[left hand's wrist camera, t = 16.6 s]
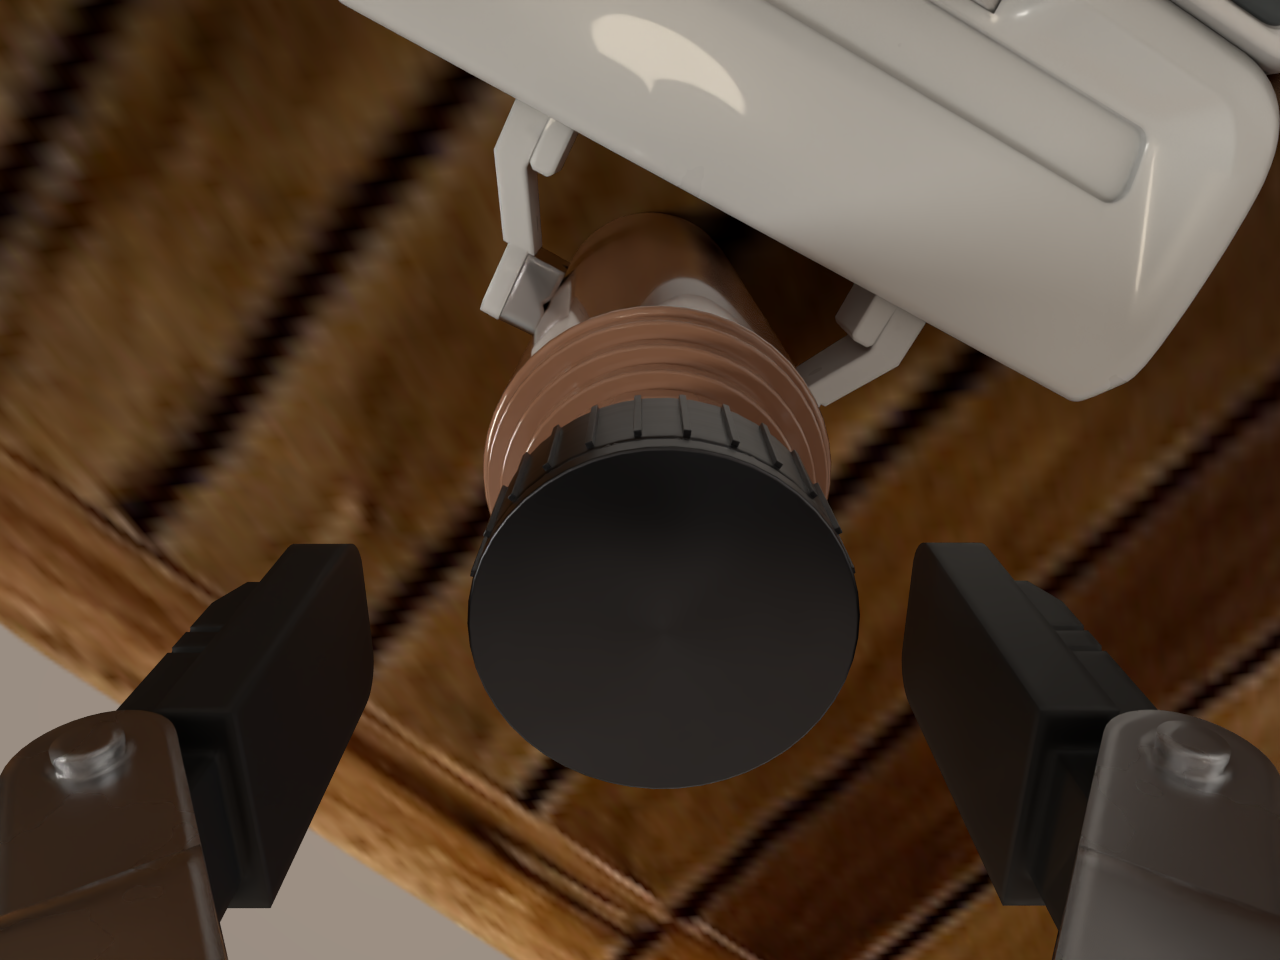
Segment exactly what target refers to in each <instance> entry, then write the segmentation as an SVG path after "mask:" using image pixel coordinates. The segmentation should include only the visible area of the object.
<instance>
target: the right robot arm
mask: <svg viewBox="0 0 1280 960" xmlns="http://www.w3.org/2000/svg"><path fill="white" fill-rule="evenodd" d="M339 1H340V2H341V3H342V4H344V5H346V6H348V7H349V8H351V9H353V10H355V11H356V12H358V13H360V14H362V15H364V16H366V17H367V18H369V19H371V20H373V21H375V22H377V23H378V24H380V25H382V26H384V27H386V28H388V29H389V30H391V31H393V32H395V33H397V34H399V35H400V36H402V37H404V38H406V39H408V40H410V41H411V42H413V43H415V44H417V45H419V46H421V47H422V48H424V49H426V50H428V51H430V52H432V53H433V54H435V55H437V56H439V57H441V58H443V59H444V60H446V61H448V62H450V63H452V64H454V65H455V66H457V67H459V68H461V69H463V70H465V71H466V72H468V73H470V74H472V75H474V76H476V77H477V78H479V79H481V80H483V81H485V82H487V83H488V84H490V85H492V86H494V87H496V88H498V89H499V90H501V91H503V92H505V93H507V94H509V95H510V96H512V97H514V98H516V99H515V102H514V104H513V106H512V109H511V111H510V113H509V116H508V118H507V120H506V123H505V125H504V127H503V130H502V132H501V134H500V137H499V139H498V141H497V144H496V146H495V148H494V155H495V165H496V174H497V184H498V193H499V203H500V212H501V222H502V231H503V240H504V241H505V242H507V243H508V245H507V247H506V250H505V252H504V254H503V256H502V259H501V261H500V263H499V265H498V267H497V270H496V272H495V274H494V276H493V279H492V281H491V283H490V285H489V288H488V290H487V292H486V294H485V296H484V299H483V301H482V304H481V308H480V310H482V311H483V312H485V313H487V314H489V315H491V316H492V317H494V318H496V319H499V320H501V321H503V322H506V323H508V324H510V325H512V326H514V327H516V328H518V329H520V330H522V331H524V332H526V333H528V334H531V335H533V334H534V332H535V330H536V328H537V326H538V324H539V322H540V320H541V318H542V317H543V315H544V313H545V311H546V309H547V307H548V305H549V303H550V301H551V299H552V298H553V296H554V295H555V293H556V292H557V290H558V288H559V286H560V284H561V282H562V280H563V278H564V276H565V274H566V272H567V270H568V267H569V265H570V262H568V261H566V260H564V259H562V258H561V257H559V256H557V255H555V254H553V253H551V252H550V251H548V250H546V249H544V248H542V236H541V222H540V207H539V193H538V179H537V172H539V173H541V174H543V175H545V176H550V175H553V174H555V173H557V172H558V171H560V170H561V169H562V167H563V165H564V163H565V161H566V159H567V156H568V154H569V152H570V150H571V148H572V146H573V144H574V142H575V139H576V137H577V135H578V133H580V134H582V135H584V136H586V137H587V138H589V139H591V140H593V141H595V142H597V143H598V144H600V145H602V146H604V147H606V148H608V149H609V150H611V151H613V152H615V153H617V154H619V155H620V156H622V157H624V158H626V159H628V160H630V161H631V162H633V163H635V164H637V165H639V166H641V167H642V168H644V169H646V170H648V171H650V172H652V173H653V174H655V175H657V176H659V177H661V178H663V179H664V180H666V181H668V182H670V183H672V184H674V185H675V186H677V187H679V188H681V189H683V190H685V191H686V192H688V193H690V194H692V195H694V196H696V197H697V198H699V199H701V200H703V201H705V202H707V203H708V204H710V205H712V206H714V207H716V208H718V209H719V210H721V211H723V212H725V213H727V214H729V215H730V216H732V217H734V218H736V219H738V220H740V221H741V222H743V223H745V224H747V225H749V226H751V227H752V228H754V229H756V230H758V231H760V232H762V233H763V234H765V235H767V236H769V237H771V238H773V239H774V240H776V241H778V242H780V243H782V244H784V245H785V246H787V247H789V248H791V249H793V250H795V251H796V252H798V253H800V254H802V255H804V256H806V257H807V258H809V259H811V260H813V261H815V262H817V263H818V264H820V265H822V266H824V267H826V268H828V269H829V270H831V271H833V272H835V273H837V274H839V275H840V276H842V277H844V278H846V279H848V280H850V281H851V282H853V283H854V285H853V286H852V288H851V290H850V292H849V293H848V295H847V297H846V299H845V300H844V302H843V304H842V305H841V307H840V309H839V311H838V312H837V314H836V316H835V319H836V323H837V324H838V325H839V326H840V327H841V328H842V329H843V330H844V331H845V332H846V333H847V334H848V335H846V336H845V337H843V338H842V339H840V340H838V341H837V342H835V343H834V344H832V345H831V346H829V347H827V348H826V349H824V350H823V351H821V352H819V353H818V354H816V355H815V356H813V357H812V358H810V359H808V360H807V361H805V362H804V363H802V364H800V365H799V366H797V367H796V368H797V369H798V371H799V373H800V374H801V376H802V377H803V379H804V381H805V382H806V384H807V386H808V387H809V389H810V391H811V393H812V394H813V396H814V398H815V400H816V402H817V404H818V407H819V406H820V405H824V406H827V405H829V404H830V403H832V402H834V401H836V400H838V399H839V398H841V397H843V396H845V395H847V394H848V393H850V392H852V391H854V390H856V389H857V388H859V387H861V386H863V385H865V384H866V383H868V382H870V381H872V380H873V379H875V378H877V377H879V376H881V375H882V374H884V373H886V372H888V371H890V370H891V369H893V368H895V367H897V366H898V365H899V364H900V362H901V361H902V359H903V357H904V356H905V354H906V353H907V351H908V350H909V348H910V347H911V345H912V343H913V342H914V340H915V339H916V337H917V336H918V334H919V333H920V331H921V329H922V328H923V326H924V325H925V323H926V322H927V323H929V324H930V325H932V326H934V327H936V328H938V329H940V330H941V331H943V332H945V333H947V334H949V335H951V336H952V337H954V338H956V339H958V340H960V341H962V342H963V343H965V344H967V345H969V346H971V347H973V348H974V349H976V350H978V351H980V352H982V353H984V354H985V355H987V356H989V357H991V358H993V359H995V360H996V361H998V362H1000V363H1002V364H1004V365H1006V366H1007V367H1009V368H1011V369H1013V370H1015V371H1017V372H1018V373H1020V374H1022V375H1024V376H1026V377H1028V378H1029V379H1031V380H1033V381H1035V382H1037V383H1039V384H1040V385H1042V386H1044V387H1046V388H1048V389H1050V390H1051V391H1053V392H1055V393H1057V394H1059V395H1061V396H1063V397H1064V398H1066V399H1068V400H1071V401H1082V400H1085V399H1088V398H1091V397H1094V396H1096V395H1099V394H1101V393H1103V392H1106V391H1108V390H1110V389H1113V388H1115V387H1117V386H1119V385H1122V384H1124V383H1126V382H1128V381H1129V380H1130V379H1132V378H1133V377H1135V376H1136V375H1137V374H1138V372H1139V371H1140V370H1141V369H1142V368H1143V367H1144V366H1145V365H1146V364H1147V363H1148V361H1149V360H1150V359H1151V358H1152V356H1153V355H1154V354H1155V353H1156V351H1157V350H1158V349H1159V347H1160V346H1161V345H1162V344H1163V342H1164V341H1165V339H1166V338H1167V337H1168V335H1169V334H1170V332H1171V331H1172V330H1173V328H1174V327H1175V325H1176V324H1177V323H1178V321H1179V320H1180V318H1181V317H1182V316H1183V314H1184V313H1185V311H1186V310H1187V308H1188V307H1189V305H1190V304H1191V302H1192V301H1193V300H1194V298H1195V297H1196V295H1197V294H1198V292H1199V291H1200V289H1201V288H1202V286H1203V285H1204V283H1205V282H1206V280H1207V279H1208V277H1209V275H1210V274H1211V272H1212V271H1213V269H1214V268H1215V266H1216V264H1217V263H1218V261H1219V260H1220V258H1221V257H1222V255H1223V254H1224V252H1225V250H1226V249H1227V247H1228V246H1229V244H1230V242H1231V241H1232V239H1233V237H1234V236H1235V234H1236V232H1237V231H1238V229H1239V227H1240V226H1241V224H1242V222H1243V221H1244V219H1245V217H1246V215H1247V213H1248V212H1249V210H1250V208H1251V206H1252V205H1253V203H1254V201H1255V199H1256V198H1257V196H1258V194H1259V192H1260V190H1261V188H1262V186H1263V184H1264V182H1265V179H1266V177H1267V174H1268V172H1269V169H1270V167H1271V164H1272V161H1273V158H1274V155H1275V151H1276V147H1277V142H1278V136H1279V125H1280V116H1279V106H1278V102H1277V98H1276V94H1275V92H1274V89H1273V87H1272V85H1271V82H1270V81H1269V79H1268V78H1267V76H1266V75H1269V74H1275V73H1280V0H339Z"/></svg>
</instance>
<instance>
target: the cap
mask: <svg viewBox="0 0 1280 960" xmlns="http://www.w3.org/2000/svg"><path fill="white" fill-rule="evenodd" d="M840 533H842V530H841V528H840V526H839V524H838V522H837V520H836V518H835V516H834V514H833V512H832V510H831V508H830V506H829V504H828V502H827V500H826V498H825V496H824V494H823V492H822V490H821V487H820V485H819V483H818V482H817V483H815V484H813V483H812V481H811V479H810V477H809V475H808V473H807V471H806V469H805V467H804V465H803V463H802V460H801V458H800V456H799V454H798V453H797V452H796V450H793V451H792V452H790V451H789V450H788V449H787V448H786V447H785V446H784V445H783V444H782V443H781V442H780V441H779V440H777V439H776V438H775V437H774V436H773V435H771V434H770V431H769V429H768V427H767V425H765V424H764V423H761V424H760V426H759V425H757V424H756V423H754V422H752V421H750V420H748V419H746V418H744V417H742V416H741V415H739V414H737V413H734V412H731V411H730V408H729V406H728V405H726V404H722V406H721V407H718V406H715V405H711V404H707V403H702V402H698V401H694V400H687V399H686V395H679V399H676V398H645V399H642V398H641V395H635V396H634V400H631V401H625V402H620V403H616V404H612V405H609V406H606V407H602V408H599V407H598V405H595V406H593V407H591V412H590V413H587V414H585V415H583V416H580V417H578V418H577V419H575V420H573V421H571V422H570V423H568V424H566V425H565V426H563V427H560V426H559V425H556V426H555V427H554V428H553V430H552V434H551V436H549V437H548V438H547V439H546V440H544V441H543V442H542V443H541V444H540V445H539V446H538V447H537V448H536V449H535V450H534V451H533V452H532V453H531V454H529V453H527V452H525V454H524V455H523V456H522V459H521V461H520V464H519V467H518V470H517V472H516V473H515V475H514V476H513V478H512V480H511V482H510V484H509V485H508V487H507V486H504V485H503V486H502V488H501V490H500V493H499V495H498V498H497V500H496V503H495V506H494V508H493V511H492V513H491V516H490V519H489V521H488V524H487V526H486V529H485V532H484V534H483V536H484V539H483V541H482V544H481V546H480V549H479V552H478V554H477V557H476V560H475V562H474V565H473V567H472V570H471V575H470V576H472V577H473V580H472V585H471V590H470V595H469V600H468V622H467V624H468V633H469V642H470V648H471V652H472V656H473V659H474V663H475V667H476V669H477V672H478V674H479V677H480V679H481V681H482V684H483V686H484V688H485V690H486V692H487V693H488V695H489V697H490V698H491V700H492V702H493V703H494V705H495V707H496V708H497V709H498V711H499V712H500V713H501V714H502V716H503V717H504V718H505V719H506V721H507V722H508V723H509V724H510V726H511V727H513V728H514V729H515V730H516V731H517V732H518V733H519V734H520V735H521V736H522V737H523V738H524V739H525V740H526V741H527V742H529V743H530V744H531V745H533V746H534V747H535V748H537V749H538V750H539V751H540V752H542V753H543V754H545V755H546V756H548V757H550V758H551V759H553V760H555V761H557V762H558V763H560V764H562V765H563V766H565V767H568V768H570V769H572V770H575V771H577V772H579V773H581V774H584V775H586V776H589V777H593V778H596V779H599V780H602V781H606V782H609V783H614V784H620V785H625V786H630V787H640V788H651V789H668V788H685V787H693V786H701V785H705V784H710V783H714V782H718V781H722V780H726V779H729V778H732V777H734V776H737V775H740V774H743V773H746V772H748V771H750V770H752V769H754V768H756V767H758V766H760V765H763V764H765V763H767V762H769V761H770V760H772V759H773V758H775V757H776V756H778V755H780V754H781V753H783V752H784V751H786V750H787V749H789V748H790V747H791V746H792V745H794V744H795V743H796V742H797V741H799V740H800V739H801V738H802V737H803V736H805V735H806V734H807V733H808V732H809V731H810V730H811V728H812V727H813V726H814V725H815V724H816V723H817V722H818V721H819V720H820V719H821V718H822V717H823V715H824V714H825V712H826V711H827V710H828V708H829V707H830V706H831V704H832V703H833V702H834V700H835V698H836V697H837V695H838V693H839V691H840V689H841V687H842V686H843V684H844V682H845V680H846V677H847V675H848V672H849V669H850V667H851V664H852V661H853V658H854V654H855V650H856V645H857V641H858V633H859V620H860V611H859V598H858V590H857V586H856V582H855V577H854V573H855V569H854V566H853V564H852V561H851V559H850V557H849V555H848V553H847V551H846V549H845V547H844V545H843V543H842V541H841V538H840V536H839V534H840Z"/></svg>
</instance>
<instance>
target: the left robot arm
mask: <svg viewBox="0 0 1280 960" xmlns="http://www.w3.org/2000/svg"><path fill="white" fill-rule="evenodd" d="M373 665H374V660H373V647H372V639H371V631H370V623H369V615H368V607H367V599H366V591H365V583H364V576H363V568H362V561H361V557H360V554H359V551H358V549H357V547H356V546H355V545H353V544H292V545H290V546H289V547H288V548H287V550H286V551H285V552H284V553H283V554H282V556H281V557H280V558H279V559H278V560H277V562H276V563H275V564H274V565H273V567H272V568H271V569H270V570H269V571H268V573H267V574H266V575H265V576H264V577H263V579H262V580H261V581H260V582H247V583H245V584H243V585H242V586H240V587H238V588H237V589H235V590H233V591H231V592H230V593H228V594H226V595H225V596H223V597H221V598H220V599H218V600H216V601H214V602H213V603H212V604H211V605H210V606H209V607H208V608H207V609H206V610H205V611H204V613H203V614H202V615H201V616H200V617H199V618H198V619H197V620H196V622H195V623H194V624H193V625H192V626H191V627H190V632H186V633H185V634H184V635H183V636H182V637H181V638H180V639H179V641H178V642H177V643H176V644H175V645H174V646H173V647H172V653H167V654H166V655H165V656H164V657H163V659H162V660H161V661H160V662H159V663H158V664H157V665H156V666H155V668H154V669H153V670H152V671H151V672H150V673H149V674H148V675H147V677H146V678H145V679H144V680H143V681H142V682H141V683H140V684H139V686H138V687H137V688H136V689H135V690H134V691H133V692H132V693H131V695H130V696H129V697H128V698H127V699H126V700H125V701H124V702H123V703H122V705H121V706H120V707H119V708H118V709H117V710H116V711H111V712H104V713H100V714H95V715H91V716H87V717H84V718H81V719H78V720H74V721H72V722H69V723H67V724H64V725H62V726H59V727H57V728H55V729H53V730H51V731H49V732H47V733H45V734H43V735H42V736H40V737H38V738H37V739H35V740H34V741H32V742H31V743H29V744H28V745H27V746H25V747H24V748H22V749H21V750H20V751H19V752H18V753H17V754H16V755H15V756H14V757H13V758H12V759H11V760H10V761H9V762H8V764H7V765H6V766H5V768H4V770H3V771H2V773H1V775H0V960H228V957H227V952H226V948H225V943H224V939H223V935H222V930H221V926H220V921H221V919H222V917H223V915H224V913H225V911H226V910H227V908H271V906H272V904H273V902H274V900H275V897H276V895H277V893H278V891H279V889H280V887H281V885H282V882H283V880H284V878H285V876H286V874H287V872H288V870H289V868H290V865H291V863H292V861H293V859H294V857H295V855H296V853H297V851H298V848H299V846H300V844H301V842H302V840H303V838H304V836H305V834H306V831H307V829H308V827H309V825H310V823H311V821H312V819H313V817H314V814H315V812H316V810H317V808H318V806H319V804H320V802H321V800H322V797H323V795H324V793H325V791H326V789H327V787H328V785H329V783H330V780H331V778H332V776H333V774H334V772H335V770H336V768H337V766H338V763H339V761H340V759H341V757H342V755H343V753H344V751H345V749H346V746H347V744H348V742H349V740H350V738H351V736H352V734H353V732H354V729H355V727H356V725H357V723H358V721H359V719H360V717H361V715H362V712H363V710H364V708H365V706H366V704H367V701H368V699H369V695H370V691H371V686H372V679H373ZM902 675H903V683H904V688H905V693H906V696H907V699H908V702H909V704H910V706H911V708H912V710H913V713H914V715H915V717H916V719H917V721H918V723H919V726H920V728H921V730H922V732H923V734H924V736H925V739H926V741H927V743H928V745H929V747H930V749H931V751H932V754H933V756H934V758H935V760H936V762H937V764H938V767H939V769H940V771H941V773H942V775H943V777H944V780H945V782H946V784H947V786H948V788H949V790H950V792H951V795H952V797H953V799H954V801H955V803H956V805H957V808H958V810H959V812H960V814H961V816H962V818H963V821H964V823H965V825H966V827H967V829H968V831H969V833H970V836H971V838H972V840H973V842H974V844H975V846H976V849H977V851H978V853H979V855H980V857H981V859H982V862H983V864H984V866H985V868H986V870H987V872H988V874H989V877H990V879H991V881H992V883H993V885H994V887H995V890H996V892H997V894H998V896H999V898H1000V900H1001V903H1002V905H1046V907H1047V909H1048V911H1049V913H1050V915H1051V917H1052V919H1053V921H1054V923H1055V925H1056V927H1057V929H1058V935H1057V939H1056V943H1055V948H1054V952H1053V957H1052V960H1280V775H1279V773H1278V771H1277V770H1276V768H1275V766H1274V765H1273V764H1272V762H1271V761H1270V760H1269V759H1268V758H1267V757H1266V756H1265V755H1264V754H1263V753H1262V752H1261V751H1260V750H1259V749H1258V748H1256V747H1255V746H1253V745H1252V744H1251V743H1249V742H1248V741H1247V740H1245V739H1243V738H1242V737H1240V736H1238V735H1237V734H1235V733H1233V732H1231V731H1229V730H1227V729H1225V728H1223V727H1221V726H1218V725H1216V724H1213V723H1211V722H1208V721H1206V720H1202V719H1199V718H1196V717H1193V716H1189V715H1185V714H1181V713H1176V712H1169V711H1162V710H1157V709H1156V707H1155V706H1154V705H1153V704H1152V703H1151V702H1150V701H1149V699H1148V698H1147V697H1146V696H1145V695H1144V694H1143V693H1142V692H1141V690H1140V689H1139V688H1138V687H1137V686H1136V685H1135V684H1134V682H1133V681H1132V680H1131V679H1130V678H1129V677H1128V676H1127V675H1126V673H1125V672H1124V671H1123V670H1122V669H1121V668H1120V667H1119V665H1118V664H1117V663H1116V662H1115V661H1114V660H1113V659H1112V657H1111V656H1110V655H1109V654H1108V653H1107V652H1106V651H1102V650H1101V645H1100V644H1099V643H1098V642H1097V640H1096V639H1095V638H1094V637H1093V636H1092V635H1091V634H1090V633H1089V631H1084V629H1083V625H1082V623H1081V622H1080V621H1079V620H1078V619H1077V618H1076V617H1075V615H1074V614H1073V613H1072V612H1071V611H1070V610H1069V609H1068V608H1067V606H1066V605H1065V604H1064V603H1063V602H1062V601H1060V600H1059V599H1057V598H1055V597H1054V596H1052V595H1050V594H1049V593H1047V592H1045V591H1043V590H1042V589H1040V588H1038V587H1037V586H1035V585H1033V584H1032V583H1030V582H1028V581H1014V579H1013V578H1012V577H1011V576H1010V575H1009V573H1008V572H1007V571H1006V570H1005V568H1004V567H1003V566H1002V565H1001V564H1000V562H999V561H998V560H997V559H996V557H995V556H994V555H993V554H992V553H991V551H990V550H989V549H988V548H987V546H985V545H984V544H983V543H921V544H920V545H919V546H918V548H917V550H916V553H915V556H914V561H913V568H912V576H911V584H910V592H909V600H908V609H907V617H906V625H905V633H904V641H903V649H902Z"/></svg>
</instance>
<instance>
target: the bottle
mask: <svg viewBox="0 0 1280 960" xmlns="http://www.w3.org/2000/svg"><path fill="white" fill-rule="evenodd" d="M635 395H641V398H642V399H645V398H676V399H679V395H686V399H687V400H694V401H698V402H702V403H707V404H711V405H715V406H718V407H721V406H722V404H726V405H728V406H729V408H730V411H731V412H734V413H737V414H739V415H741V416H742V417H744V418H746V419H748V420H750V421H752V422H754V423H756V424H757V425H759V426H760V424H761V423H764V424H765V425H767V427H768V429H769V431H770V434H771V435H773V436H774V437H775V438H776V439H777V440H779V441H780V442H781V443H782V444H783V445H784V446H785V447H786V448H787V449H788V450H789V451H790V452H792V451H793V450H796V452H797V453H798V454H799V456H800V458H801V460H802V463H803V465H804V467H805V469H806V471H807V473H808V475H809V477H810V479H811V481H812V483H813V484H815V483H817V482H818V483H819V485H820V487H821V490H822V492H823V494H824V496H825V498H826V500H827V499H828V494H829V488H830V480H831V455H830V446H829V439H828V435H827V431H826V427H825V423H824V419H823V417H822V414H821V412H820V409H819V407H818V404H817V402H816V400H815V398H814V396H813V394H812V393H811V391H810V389H809V387H808V386H807V384H806V382H805V381H804V379H803V377H802V376H801V374H800V373H799V371H798V369H797V368H796V366H795V365H794V363H793V362H792V360H791V358H790V357H789V355H788V354H787V352H786V351H785V349H784V347H783V346H782V344H781V343H780V341H779V339H778V338H777V336H776V335H775V333H774V332H773V330H772V328H771V327H770V325H769V324H768V322H767V320H766V319H765V317H764V316H763V314H762V313H761V311H760V309H759V308H758V306H757V305H756V303H755V302H754V300H753V298H752V297H751V295H750V294H749V292H748V290H747V289H746V287H745V286H744V284H743V283H742V281H741V279H740V278H739V276H738V275H737V273H736V271H735V270H734V268H733V267H732V265H731V264H730V262H729V260H728V259H727V257H726V256H725V254H724V252H723V251H722V250H721V248H720V247H719V246H718V244H717V243H716V242H715V241H714V240H713V239H712V238H711V237H710V236H709V235H708V234H707V233H706V232H704V231H703V230H702V229H700V228H699V227H698V226H696V225H694V224H692V223H690V222H689V221H687V220H684V219H682V218H679V217H676V216H673V215H668V214H664V213H653V212H649V213H637V214H631V215H627V216H624V217H621V218H618V219H615V220H613V221H611V222H609V223H607V224H605V225H604V226H602V227H601V228H599V229H598V230H596V231H595V232H594V233H593V234H592V235H591V236H589V237H588V238H587V239H586V240H585V242H584V243H583V244H582V245H581V246H580V247H579V249H578V250H577V252H576V253H575V255H574V256H573V258H572V260H571V262H570V265H569V267H568V270H567V272H566V274H565V276H564V278H563V280H562V282H561V284H560V286H559V288H558V290H557V292H556V293H555V295H554V296H553V298H552V299H551V301H550V303H549V305H548V307H547V309H546V311H545V313H544V315H543V317H542V318H541V320H540V322H539V324H538V326H537V328H536V330H535V332H534V334H533V336H532V338H531V340H530V342H529V344H528V346H527V348H526V350H525V351H524V353H523V355H522V357H521V359H520V361H519V363H518V365H517V367H516V369H515V371H514V373H513V375H512V377H511V379H510V381H509V383H508V384H507V386H506V388H505V390H504V392H503V394H502V396H501V398H500V401H499V403H498V405H497V407H496V409H495V411H494V413H493V417H492V420H491V423H490V426H489V429H488V432H487V437H486V443H485V449H484V461H483V479H484V488H485V496H486V500H487V504H488V508H489V512H490V516H491V513H492V511H493V508H494V506H495V503H496V500H497V498H498V495H499V493H500V490H501V488H502V486H503V485H504V486H507V487H508V485H509V484H510V482H511V480H512V478H513V476H514V475H515V473H516V472H517V470H518V467H519V464H520V461H521V459H522V456H523V455H524V454H525V452H527V453H529V454H531V453H532V452H533V451H534V450H535V449H536V448H537V447H538V446H539V445H540V444H541V443H542V442H543V441H544V440H546V439H547V438H548V437H549V436H551V434H552V430H553V428H554V427H555V426H556V425H559V426H560V427H563V426H565V425H566V424H568V423H570V422H571V421H573V420H575V419H577V418H578V417H580V416H583V415H585V414H587V413H590V412H591V407H593V406H595V405H598V407H599V408H602V407H606V406H609V405H612V404H616V403H620V402H625V401H631V400H634V396H635Z"/></svg>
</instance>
